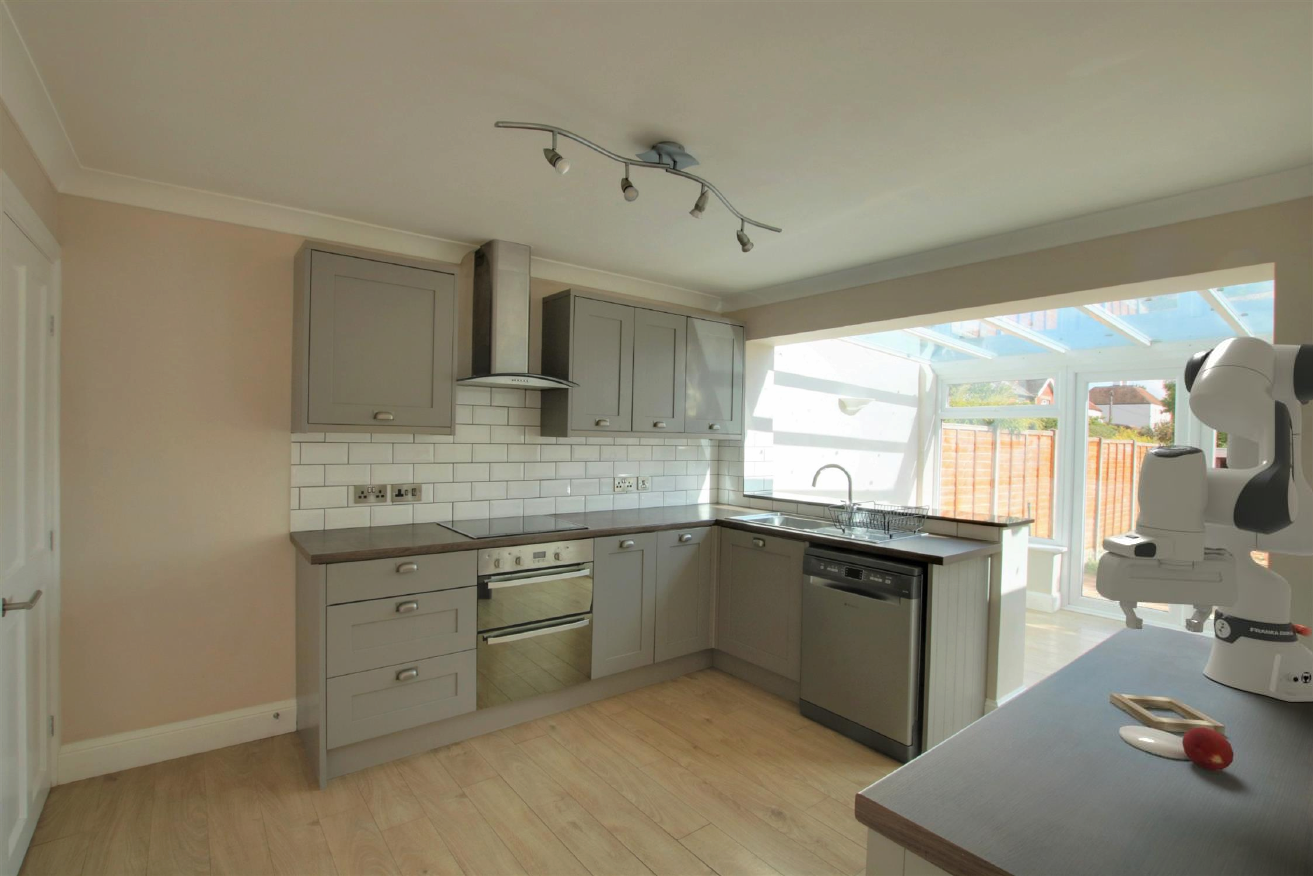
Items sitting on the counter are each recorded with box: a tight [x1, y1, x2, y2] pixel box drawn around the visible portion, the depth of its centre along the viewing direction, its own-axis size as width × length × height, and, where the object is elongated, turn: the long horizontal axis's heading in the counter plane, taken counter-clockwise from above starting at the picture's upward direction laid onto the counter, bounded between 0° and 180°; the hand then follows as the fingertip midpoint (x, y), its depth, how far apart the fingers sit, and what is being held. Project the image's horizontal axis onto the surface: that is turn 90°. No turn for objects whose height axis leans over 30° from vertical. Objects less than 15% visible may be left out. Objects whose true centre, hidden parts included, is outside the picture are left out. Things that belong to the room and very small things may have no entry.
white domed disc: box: [1118, 725, 1190, 761], centre depth 104 cm, size 10×10×1 cm
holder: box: [1109, 693, 1226, 736], centre depth 114 cm, size 12×12×2 cm
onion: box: [1182, 727, 1235, 771], centre depth 96 cm, size 6×6×8 cm
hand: (1163, 629), depth 104 cm, fingers open, 8 cm apart
